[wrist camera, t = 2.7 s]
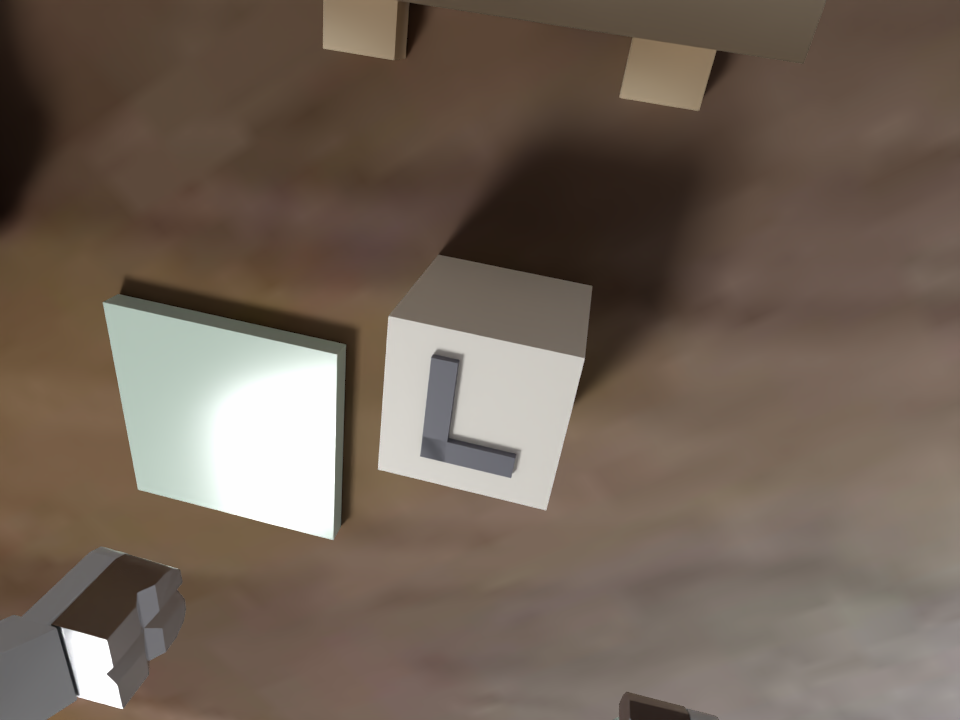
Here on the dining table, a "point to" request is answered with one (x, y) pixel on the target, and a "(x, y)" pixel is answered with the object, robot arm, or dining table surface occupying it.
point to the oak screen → (615, 10)
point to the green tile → (232, 413)
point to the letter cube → (483, 378)
